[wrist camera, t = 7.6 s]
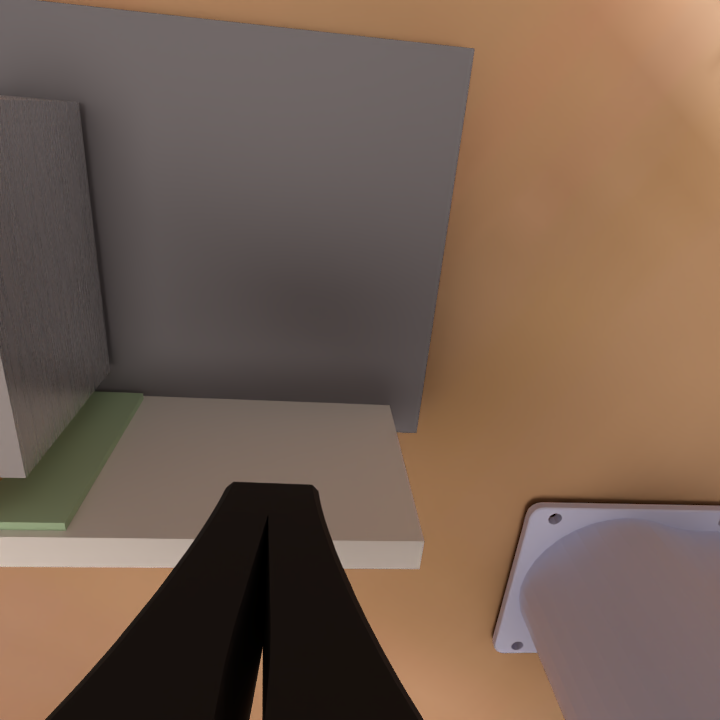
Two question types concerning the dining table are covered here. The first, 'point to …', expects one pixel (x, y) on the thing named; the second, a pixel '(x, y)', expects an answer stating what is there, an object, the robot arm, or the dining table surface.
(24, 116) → the grey rectangular block
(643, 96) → the dining table surface
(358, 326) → the base
